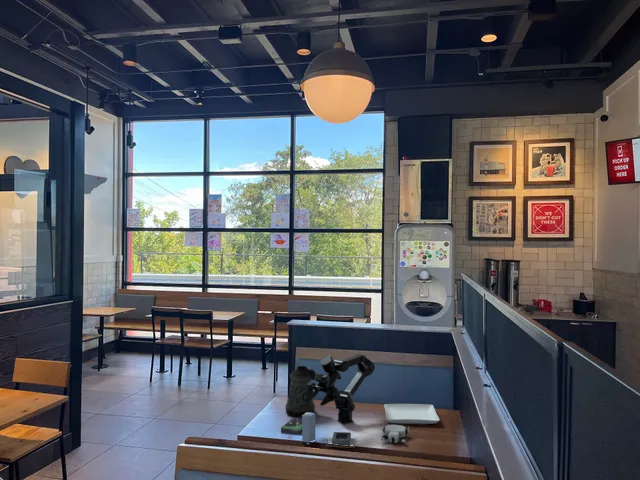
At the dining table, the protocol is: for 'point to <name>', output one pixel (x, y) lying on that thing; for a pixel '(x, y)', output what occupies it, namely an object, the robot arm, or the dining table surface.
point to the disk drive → (292, 427)
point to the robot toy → (394, 433)
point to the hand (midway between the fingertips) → (313, 403)
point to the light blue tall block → (308, 427)
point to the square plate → (411, 414)
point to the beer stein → (300, 392)
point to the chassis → (342, 439)
